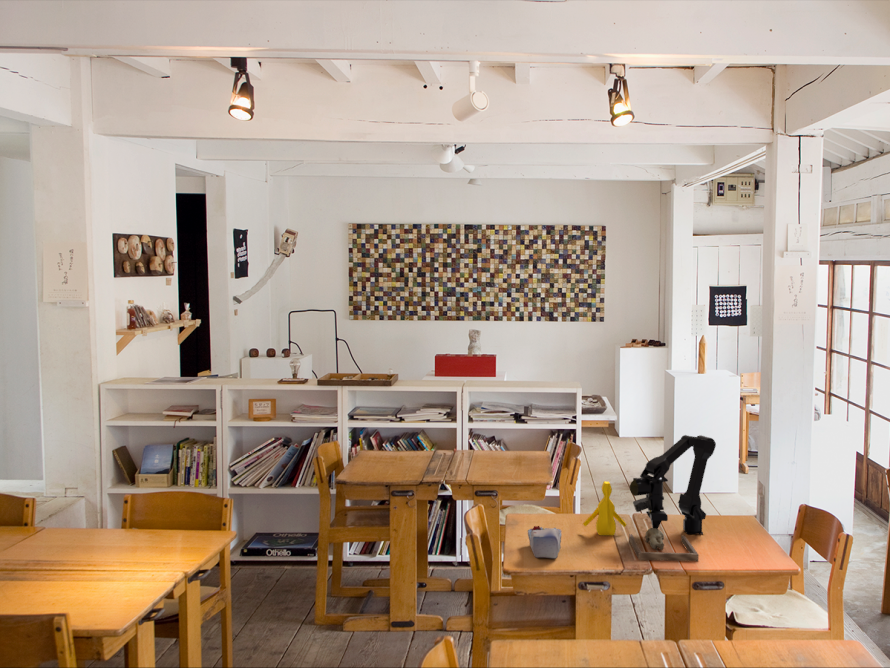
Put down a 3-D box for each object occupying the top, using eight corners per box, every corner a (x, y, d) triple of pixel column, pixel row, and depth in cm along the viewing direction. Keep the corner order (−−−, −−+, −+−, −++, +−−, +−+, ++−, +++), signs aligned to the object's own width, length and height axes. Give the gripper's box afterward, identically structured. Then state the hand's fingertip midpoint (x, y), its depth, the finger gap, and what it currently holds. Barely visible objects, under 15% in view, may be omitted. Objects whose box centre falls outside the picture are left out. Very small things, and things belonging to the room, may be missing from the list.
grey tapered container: (530, 532, 273) (526, 516, 293) (530, 561, 274) (526, 543, 294) (566, 532, 273) (560, 516, 293) (566, 561, 273) (560, 543, 293)
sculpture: (670, 554, 282) (661, 537, 297) (669, 542, 282) (661, 526, 296) (650, 554, 283) (643, 538, 298) (650, 542, 282) (642, 526, 297)
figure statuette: (625, 531, 306) (626, 478, 305) (629, 537, 298) (630, 483, 297) (581, 530, 307) (582, 478, 305) (584, 537, 299) (585, 483, 298)
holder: (684, 541, 294) (684, 535, 293) (698, 561, 273) (698, 554, 273) (629, 540, 295) (629, 534, 295) (638, 559, 275) (638, 553, 274)
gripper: (630, 486, 307) (630, 523, 308) (638, 499, 288) (638, 539, 289) (658, 486, 306) (657, 523, 307) (668, 500, 287) (667, 539, 288)
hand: (654, 531), depth 298 cm, fingers closed
